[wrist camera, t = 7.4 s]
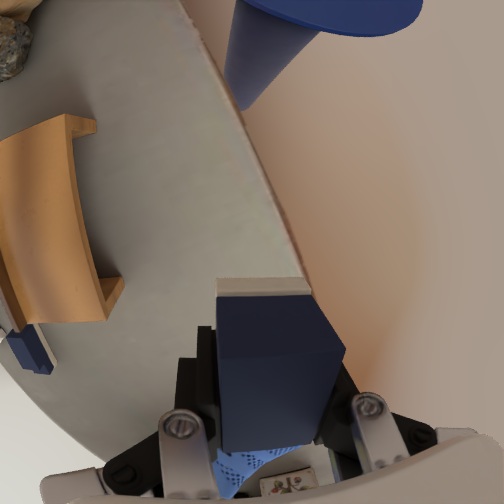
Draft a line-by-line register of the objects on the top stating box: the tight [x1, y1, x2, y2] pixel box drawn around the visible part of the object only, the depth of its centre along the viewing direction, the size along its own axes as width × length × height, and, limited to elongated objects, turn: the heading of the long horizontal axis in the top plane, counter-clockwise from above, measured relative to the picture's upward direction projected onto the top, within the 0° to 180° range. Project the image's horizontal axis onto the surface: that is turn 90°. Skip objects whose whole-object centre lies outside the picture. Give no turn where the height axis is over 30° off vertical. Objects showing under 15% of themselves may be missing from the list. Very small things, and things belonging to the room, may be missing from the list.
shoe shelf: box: [0, 114, 125, 332], centre depth 18 cm, size 10×16×8 cm, turn 4°
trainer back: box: [6, 323, 58, 375], centre depth 24 cm, size 7×3×4 cm, turn 4°
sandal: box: [212, 445, 302, 499], centre depth 30 cm, size 26×10×11 cm, turn 127°
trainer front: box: [215, 277, 346, 453], centre depth 9 cm, size 7×3×4 cm, turn 177°
